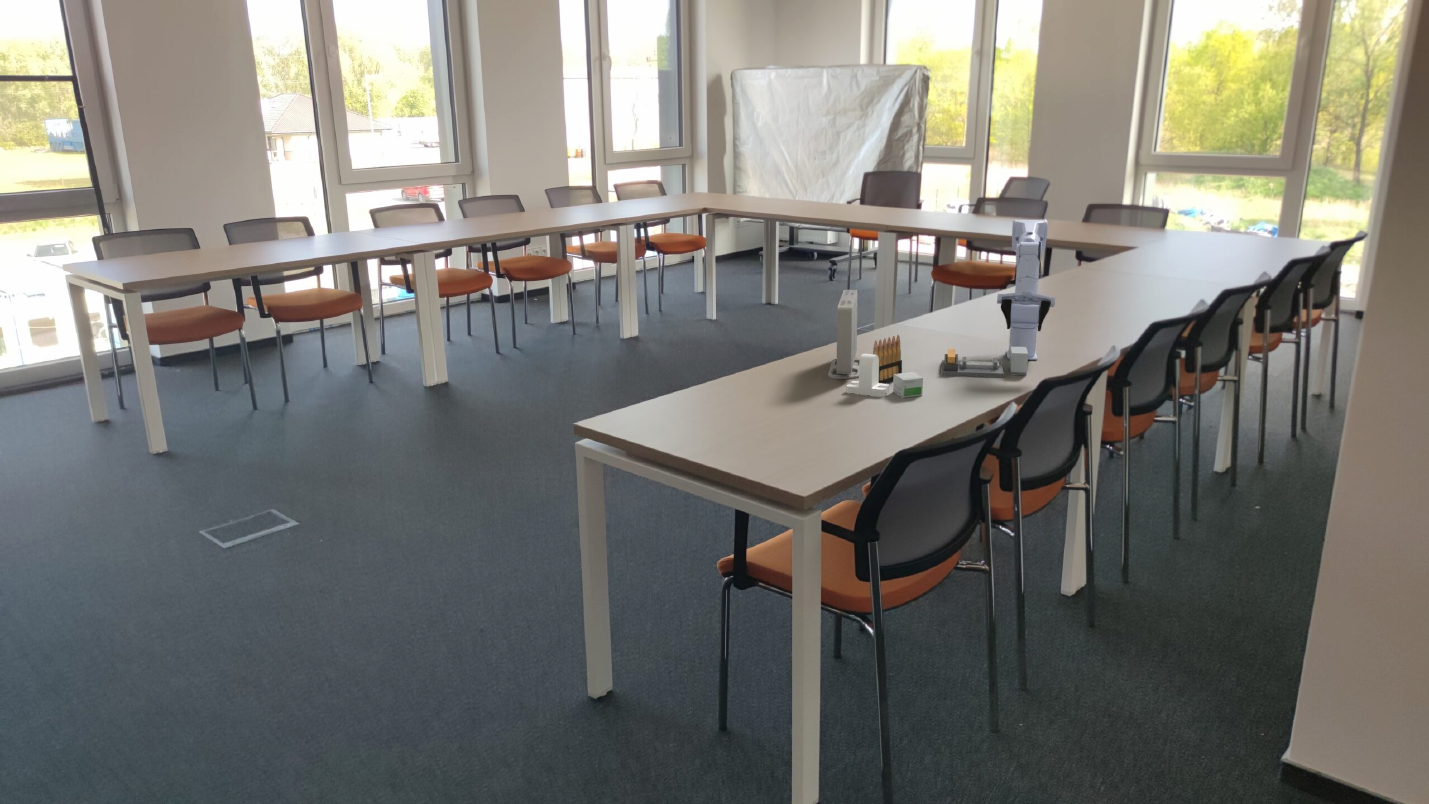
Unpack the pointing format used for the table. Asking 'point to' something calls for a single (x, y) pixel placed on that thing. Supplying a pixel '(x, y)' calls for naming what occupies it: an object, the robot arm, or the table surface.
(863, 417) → the table surface
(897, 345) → the ammunition clip
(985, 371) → the mounting board
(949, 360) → the locking tab
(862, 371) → the cable organizer
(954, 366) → the gray slotted fixture
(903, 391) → the small box
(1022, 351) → the block
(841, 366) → the network device
